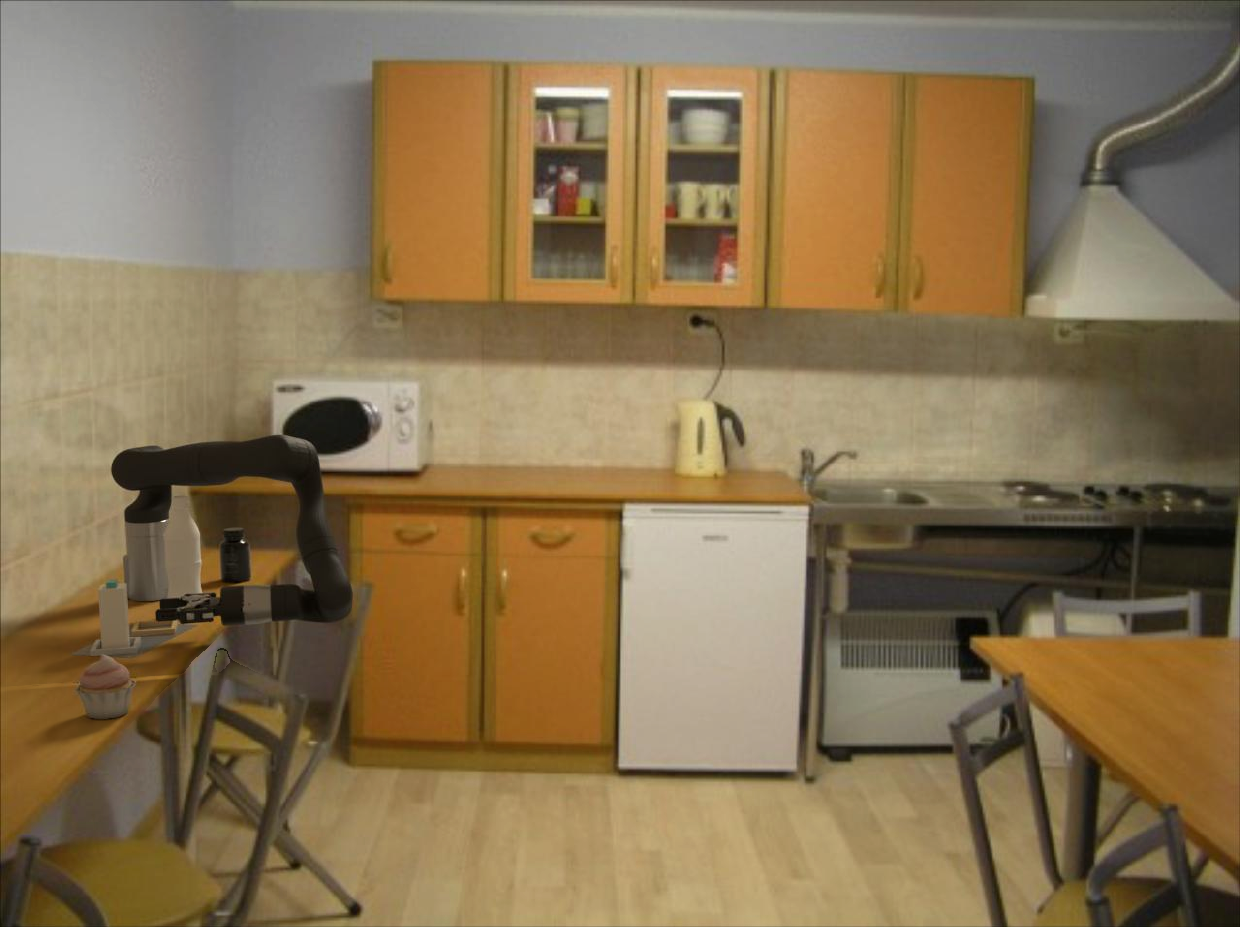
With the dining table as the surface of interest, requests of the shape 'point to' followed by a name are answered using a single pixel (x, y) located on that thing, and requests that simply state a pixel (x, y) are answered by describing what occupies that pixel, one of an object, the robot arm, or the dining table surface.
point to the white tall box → (114, 615)
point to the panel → (139, 639)
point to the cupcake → (105, 689)
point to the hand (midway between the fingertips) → (157, 610)
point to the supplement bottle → (234, 556)
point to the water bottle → (182, 551)
